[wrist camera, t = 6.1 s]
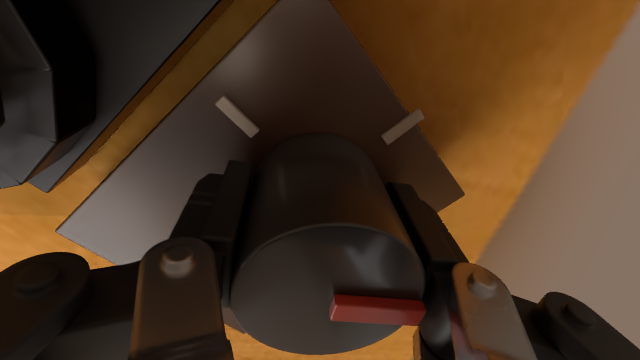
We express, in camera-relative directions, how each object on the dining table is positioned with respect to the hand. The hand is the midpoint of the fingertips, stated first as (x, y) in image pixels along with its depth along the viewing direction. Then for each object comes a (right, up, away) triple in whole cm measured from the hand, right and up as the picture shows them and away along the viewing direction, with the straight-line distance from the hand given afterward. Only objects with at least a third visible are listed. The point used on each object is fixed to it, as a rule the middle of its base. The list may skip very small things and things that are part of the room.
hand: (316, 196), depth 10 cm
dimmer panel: (-2, +1, +3) cm, 4 cm away
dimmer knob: (0, 0, 0) cm, 0 cm away
